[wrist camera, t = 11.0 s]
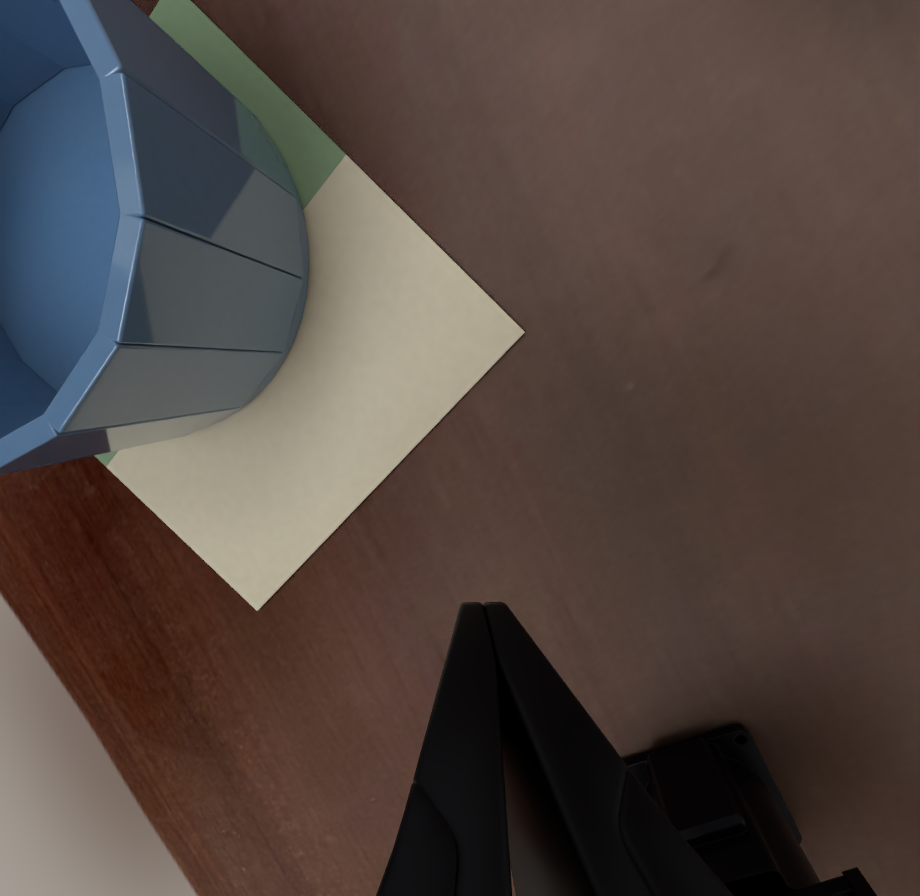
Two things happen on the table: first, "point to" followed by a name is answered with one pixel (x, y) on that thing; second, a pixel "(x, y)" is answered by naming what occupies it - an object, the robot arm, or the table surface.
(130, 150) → the blue bowl
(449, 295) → the placemat
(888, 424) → the table surface
